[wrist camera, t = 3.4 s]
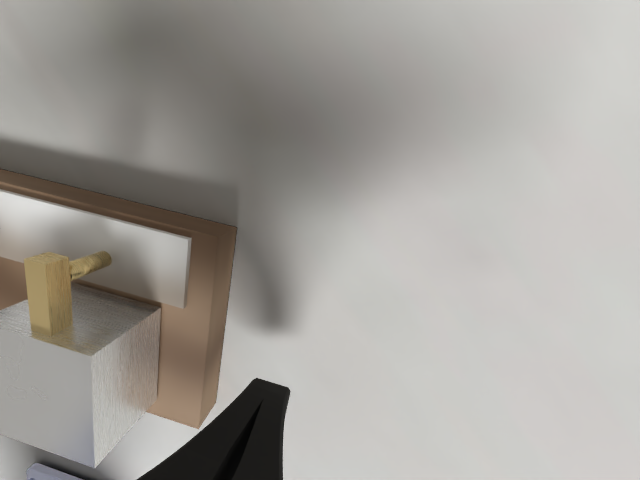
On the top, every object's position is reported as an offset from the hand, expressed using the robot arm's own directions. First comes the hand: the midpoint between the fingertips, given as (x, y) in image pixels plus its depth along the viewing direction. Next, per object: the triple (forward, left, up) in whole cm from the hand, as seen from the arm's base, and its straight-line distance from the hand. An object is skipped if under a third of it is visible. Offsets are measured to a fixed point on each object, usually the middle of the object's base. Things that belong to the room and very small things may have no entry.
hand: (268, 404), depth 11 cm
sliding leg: (+1, +7, -1) cm, 7 cm away
